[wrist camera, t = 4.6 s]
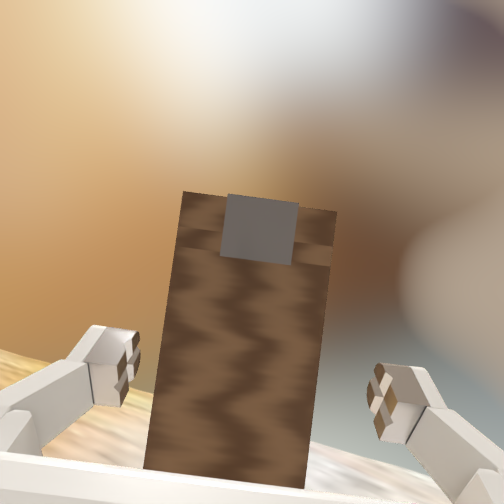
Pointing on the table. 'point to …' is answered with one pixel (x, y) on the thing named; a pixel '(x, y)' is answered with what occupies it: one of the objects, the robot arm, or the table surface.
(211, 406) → the post
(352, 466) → the table surface
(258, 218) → the grey stepped bar
